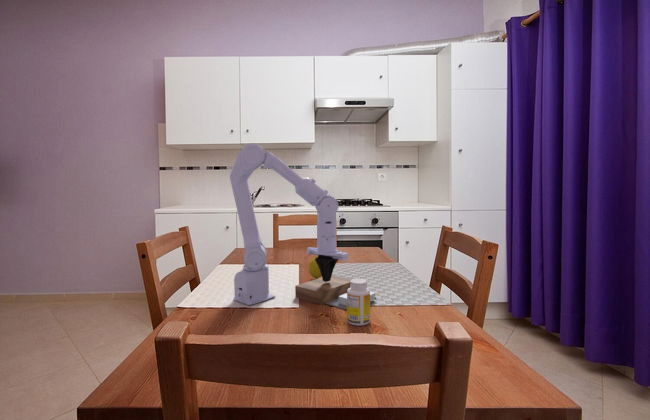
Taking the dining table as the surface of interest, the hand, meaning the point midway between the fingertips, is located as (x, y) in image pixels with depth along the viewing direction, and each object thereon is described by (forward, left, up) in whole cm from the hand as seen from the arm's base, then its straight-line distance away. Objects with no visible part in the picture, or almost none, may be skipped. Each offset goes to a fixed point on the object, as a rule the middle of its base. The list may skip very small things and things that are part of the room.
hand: (326, 280), depth 112 cm
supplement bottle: (-11, -20, -4) cm, 23 cm away
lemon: (+10, +13, -4) cm, 17 cm away
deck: (0, 0, -4) cm, 4 cm away
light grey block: (0, -11, -2) cm, 11 cm away
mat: (0, -9, -4) cm, 10 cm away
